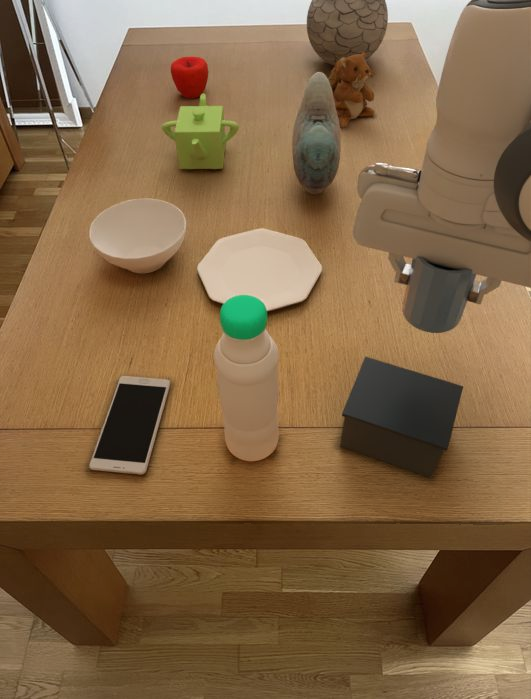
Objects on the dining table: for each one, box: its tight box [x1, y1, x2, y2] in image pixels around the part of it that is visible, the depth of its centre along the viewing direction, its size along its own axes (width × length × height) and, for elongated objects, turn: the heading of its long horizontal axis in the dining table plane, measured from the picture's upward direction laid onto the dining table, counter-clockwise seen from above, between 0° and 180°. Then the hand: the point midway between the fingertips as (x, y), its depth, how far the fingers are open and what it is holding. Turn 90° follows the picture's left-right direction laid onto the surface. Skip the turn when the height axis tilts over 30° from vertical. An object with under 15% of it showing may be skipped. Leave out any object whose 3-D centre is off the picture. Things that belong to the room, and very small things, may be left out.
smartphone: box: [88, 375, 171, 476], centre depth 76 cm, size 8×1×15 cm
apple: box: [170, 56, 209, 99], centre depth 134 cm, size 9×9×8 cm
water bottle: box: [213, 295, 280, 462], centre depth 65 cm, size 7×7×25 cm
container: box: [339, 356, 464, 479], centre depth 72 cm, size 13×10×8 cm
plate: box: [196, 227, 323, 313], centre depth 95 cm, size 20×20×2 cm
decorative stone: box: [291, 71, 342, 195], centre depth 104 cm, size 21×9×20 cm, turn 177°
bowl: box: [88, 198, 187, 274], centre depth 96 cm, size 16×16×7 cm
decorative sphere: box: [306, 0, 389, 67], centre depth 139 cm, size 20×20×20 cm
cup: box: [401, 256, 477, 334], centre depth 62 cm, size 7×7×9 cm
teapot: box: [161, 93, 240, 170], centre depth 114 cm, size 15×13×11 cm
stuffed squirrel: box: [328, 52, 376, 129], centre depth 125 cm, size 10×14×13 cm
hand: (438, 289), depth 63 cm, fingers closed on cup, 7 cm apart
